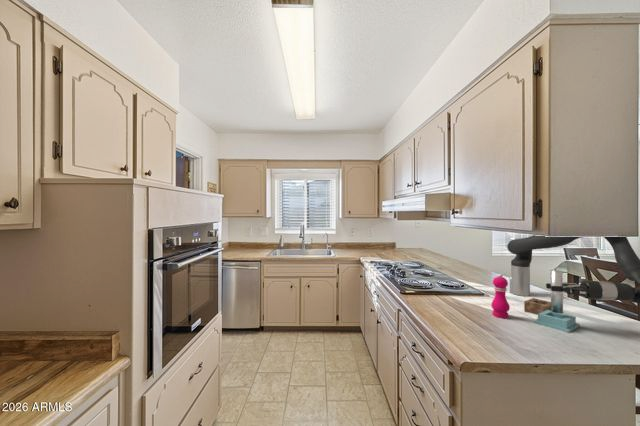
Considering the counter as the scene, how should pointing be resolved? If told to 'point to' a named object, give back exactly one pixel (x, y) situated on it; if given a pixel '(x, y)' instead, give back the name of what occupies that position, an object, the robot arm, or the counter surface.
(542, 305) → the bore block
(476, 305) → the counter surface
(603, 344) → the counter surface
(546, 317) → the socket
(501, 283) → the pepper mill
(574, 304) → the counter surface
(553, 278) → the axle
